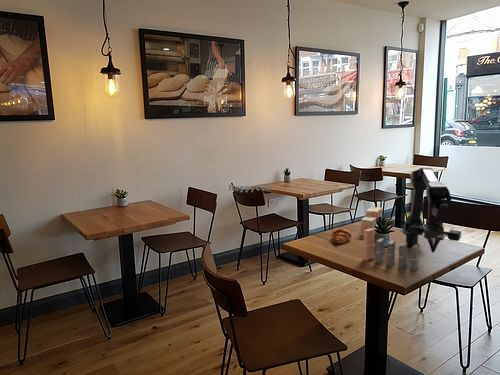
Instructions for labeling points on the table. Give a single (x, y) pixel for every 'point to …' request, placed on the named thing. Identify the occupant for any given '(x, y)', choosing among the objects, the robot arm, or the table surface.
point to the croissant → (341, 235)
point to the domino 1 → (368, 244)
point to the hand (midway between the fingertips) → (433, 252)
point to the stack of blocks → (370, 218)
